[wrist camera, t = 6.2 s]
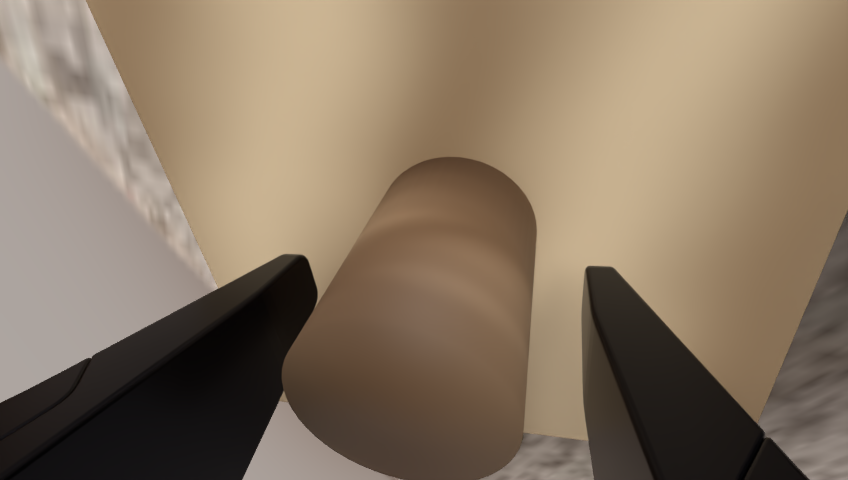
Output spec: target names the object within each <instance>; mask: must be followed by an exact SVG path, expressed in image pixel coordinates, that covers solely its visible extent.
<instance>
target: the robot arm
mask: <svg viewBox="0 0 848 480" xmlns="http://www.w3.org/2000/svg"><path fill="white" fill-rule="evenodd" d="M317 299H318V290H317V286H316V283H315V279H314V276H313V273H312V270H311V267H310V263H309V261H308V259H307V258H306V256H304V255H302V254H283V255H280V256H278V257H277V258H275V259H273V260H271V261H269V262H267V263H265V264H263V265H262V266H260V267H258V268H256V269H254V270H252V271H250V272H248V273H247V274H245V275H243V276H241V277H239V278H237V279H235V280H233V281H232V282H230V283H228V284H226V285H224V286H222V287H220V288H218V289H217V290H215V291H213V292H211V293H209V294H207V295H205V296H203V297H202V298H200V299H198V300H196V301H194V302H192V303H190V304H188V305H187V306H185V307H183V308H181V309H179V310H177V311H175V312H173V313H172V314H170V315H168V316H166V317H164V318H162V319H161V320H158V321H157V322H155V323H153V324H151V325H149V326H147V327H145V328H143V329H141V330H140V331H138V332H136V333H134V334H132V335H130V336H128V337H126V338H125V339H123V340H121V341H119V342H117V343H115V344H113V345H111V346H110V347H108V348H106V349H104V350H102V351H100V352H98V353H96V354H95V355H93V356H92V358H87V359H85V360H83V361H81V362H79V363H78V364H76V365H74V366H72V367H70V368H68V369H66V370H64V371H62V372H61V373H59V374H57V375H55V376H53V377H51V378H49V379H47V380H45V381H43V382H41V383H39V384H38V385H35V386H33V387H32V388H30V389H28V390H26V391H24V392H22V393H20V394H18V395H16V396H14V397H11V398H9V399H7V400H5V401H3V402H1V403H0V480H242V479H243V477H244V475H245V472H246V470H247V468H248V466H249V464H250V462H251V460H252V457H253V455H254V453H255V451H256V449H257V447H258V444H259V443H260V441H261V438H262V436H263V434H264V432H265V430H266V428H267V426H268V424H269V421H270V419H271V417H272V415H273V413H274V411H275V409H276V406H277V404H278V402H279V400H280V398H281V396H282V394H283V392H284V389H283V384H282V367H283V363H284V359H285V357H286V355H287V353H288V351H289V350H290V348H291V346H292V345H293V343H294V341H295V340H296V338H297V337H298V335H299V333H300V332H301V330H302V328H303V327H304V325H305V324H306V322H307V320H308V319H309V317H310V315H311V314H312V312H313V311H314V309H315V306H316V303H317ZM581 325H582V384H583V405H584V413H585V421H586V428H587V434H588V441H589V448H590V454H591V461H592V468H593V474H594V480H809V479H808V478H807V477H806V476H805V475H804V473H803V472H802V471H801V470H800V469H799V468H798V467H797V466H796V465H795V464H794V463H793V462H792V461H791V460H790V459H789V457H788V456H787V455H786V454H785V453H784V452H783V451H782V450H781V449H780V448H779V447H778V446H777V444H776V443H775V442H774V441H773V440H772V439H771V438H768V437H766V438H765V432H764V431H763V430H762V428H761V427H760V426H759V425H758V424H757V423H756V422H755V421H754V420H753V419H752V418H751V416H750V415H749V414H748V413H747V412H746V411H745V410H744V409H743V408H742V407H741V406H740V404H739V403H738V402H737V401H736V400H735V399H734V398H733V397H732V396H731V395H730V394H729V392H728V391H727V390H726V389H725V388H724V387H723V386H722V385H721V384H720V383H719V382H718V380H717V379H716V378H715V377H714V376H713V375H712V374H711V373H710V372H709V371H708V370H707V368H706V367H705V366H704V365H703V364H702V363H701V362H700V361H699V360H698V359H697V358H696V356H695V355H694V354H693V353H692V352H691V351H690V350H689V349H688V348H687V347H686V346H685V345H684V343H683V342H682V341H681V340H680V339H679V338H678V337H677V336H676V335H675V334H674V333H673V331H672V330H671V329H670V328H669V327H668V326H667V325H666V324H665V323H664V322H663V321H662V319H661V318H660V317H659V316H658V315H657V314H656V313H655V312H654V311H653V310H652V309H651V307H650V306H649V305H648V304H647V303H646V302H645V301H644V300H643V299H642V298H641V297H640V295H639V294H638V293H637V292H636V291H635V290H634V289H633V288H632V287H631V286H630V285H629V283H628V282H627V281H626V280H625V279H624V278H623V277H622V276H621V275H620V274H619V273H618V271H617V270H616V269H615V268H613V267H610V266H587V267H586V268H585V272H584V283H583V296H582V311H581Z"/></svg>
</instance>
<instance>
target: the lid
mask: <svg viewBox="0 0 848 480" xmlns="http://www.w3.org/2000/svg"><path fill="white" fill-rule="evenodd" d="M86 2H87V4H88V6H89V8H90V11H91V13H92V15H93V17H94V19H95V21H96V24H97V26H98V28H99V30H100V32H101V34H102V37H103V39H104V41H105V43H106V45H107V47H108V50H109V52H110V54H111V56H112V58H113V60H114V63H115V65H116V67H117V69H118V71H119V73H120V76H121V78H122V80H123V82H124V84H125V87H126V89H127V91H128V93H129V95H130V97H131V100H132V102H133V104H134V106H135V108H136V110H137V113H138V115H139V117H140V119H141V121H142V123H143V126H144V128H145V130H146V132H147V134H148V136H149V139H150V141H151V143H152V145H153V147H154V149H155V152H156V154H157V156H158V158H159V160H160V163H161V165H162V167H163V169H164V171H165V173H166V176H167V178H168V180H169V182H170V184H171V186H172V189H173V191H174V193H175V195H176V197H177V199H178V202H179V204H180V206H181V208H182V210H183V212H184V215H185V217H186V219H187V221H188V223H189V225H190V228H191V230H192V232H193V234H194V236H195V239H196V241H197V243H198V245H199V247H200V249H201V252H202V254H203V256H204V258H205V260H206V262H207V265H208V267H209V269H210V271H211V273H212V275H213V278H214V280H215V282H216V284H217V286H218V288H220V287H222V286H224V285H226V284H228V283H230V282H232V281H233V280H235V279H237V278H239V277H241V276H243V275H245V274H247V273H248V272H250V271H252V270H254V269H256V268H258V267H260V266H262V265H263V264H265V263H267V262H269V261H271V260H273V259H275V258H277V257H278V256H280V255H283V254H302V255H304V256H306V258H307V259H308V261H309V263H310V267H311V270H312V273H313V276H314V279H315V283H316V286H317V290H318V299H317V303H316V306H315V309H314V311H313V312H312V314H311V315H310V317H309V319H308V320H307V322H306V324H305V325H304V327H303V328H302V330H301V332H300V333H299V335H298V337H297V338H296V340H295V341H294V343H293V345H292V346H291V348H290V350H289V351H288V353H287V355H286V357H285V359H284V363H283V367H282V384H283V389H284V392H283V394H282V396H281V398H280V400H279V401H283V402H289V404H290V406H291V408H292V410H293V411H294V412H295V414H296V415H297V417H298V418H299V420H300V421H301V422H302V423H303V424H304V425H305V427H306V428H307V429H309V430H310V431H311V432H312V433H313V434H314V435H315V436H316V437H317V438H318V439H319V440H321V441H322V442H323V443H324V444H326V445H327V446H329V447H330V448H331V449H333V450H334V451H336V452H337V453H339V454H341V455H343V456H344V457H346V458H347V459H349V460H351V461H353V462H355V463H357V464H359V465H362V466H364V467H366V468H369V469H371V470H374V471H377V472H379V473H382V474H385V475H388V476H392V477H396V478H400V479H404V480H477V479H480V478H483V477H486V476H489V475H491V474H493V473H495V472H497V471H499V470H500V469H502V468H503V467H504V466H506V465H507V464H508V463H509V462H510V461H511V460H512V459H513V458H514V457H515V455H516V453H517V452H518V450H519V449H520V446H521V443H522V440H523V433H531V434H539V435H546V436H554V437H562V438H570V439H577V440H585V441H588V434H587V428H586V421H585V413H584V405H583V384H582V325H581V311H582V296H583V283H584V272H585V268H586V267H587V266H610V267H613V268H615V269H616V270H617V271H618V273H619V274H620V275H621V276H622V277H623V278H624V279H625V280H626V281H627V282H628V283H629V285H630V286H631V287H632V288H633V289H634V290H635V291H636V292H637V293H638V294H639V295H640V297H641V298H642V299H643V300H644V301H645V302H646V303H647V304H648V305H649V306H650V307H651V309H652V310H653V311H654V312H655V313H656V314H657V315H658V316H659V317H660V318H661V319H662V321H663V322H664V323H665V324H666V325H667V326H668V327H669V328H670V329H671V330H672V331H673V333H674V334H675V335H676V336H677V337H678V338H679V339H680V340H681V341H682V342H683V343H684V345H685V346H686V347H687V348H688V349H689V350H690V351H691V352H692V353H693V354H694V355H695V356H696V358H697V359H698V360H699V361H700V362H701V363H702V364H703V365H704V366H705V367H706V368H707V370H708V371H709V372H710V373H711V374H712V375H713V376H714V377H715V378H716V379H717V380H718V382H719V383H720V384H721V385H722V386H723V387H724V388H725V389H726V390H727V391H728V392H729V394H730V395H731V396H732V397H733V398H734V399H735V400H736V401H737V402H738V403H739V404H740V406H741V407H742V408H743V409H744V410H745V411H746V412H747V413H748V414H749V415H750V416H751V418H752V419H753V420H754V421H755V422H756V423H758V421H759V418H760V416H761V414H762V411H763V409H764V407H765V404H766V402H767V399H768V397H769V395H770V392H771V390H772V388H773V385H774V383H775V381H776V378H777V376H778V373H779V371H780V369H781V366H782V364H783V362H784V359H785V357H786V355H787V352H788V350H789V347H790V345H791V343H792V340H793V338H794V336H795V333H796V331H797V329H798V326H799V324H800V321H801V319H802V317H803V314H804V312H805V310H806V307H807V305H808V303H809V300H810V298H811V296H812V293H813V291H814V288H815V286H816V284H817V281H818V279H819V277H820V274H821V272H822V270H823V267H824V265H825V262H826V260H827V258H828V255H829V253H830V251H831V248H832V246H833V244H834V241H835V239H836V236H837V234H838V232H839V229H840V227H841V225H842V222H843V220H844V218H845V215H846V213H847V210H848V0H86Z"/></svg>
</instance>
